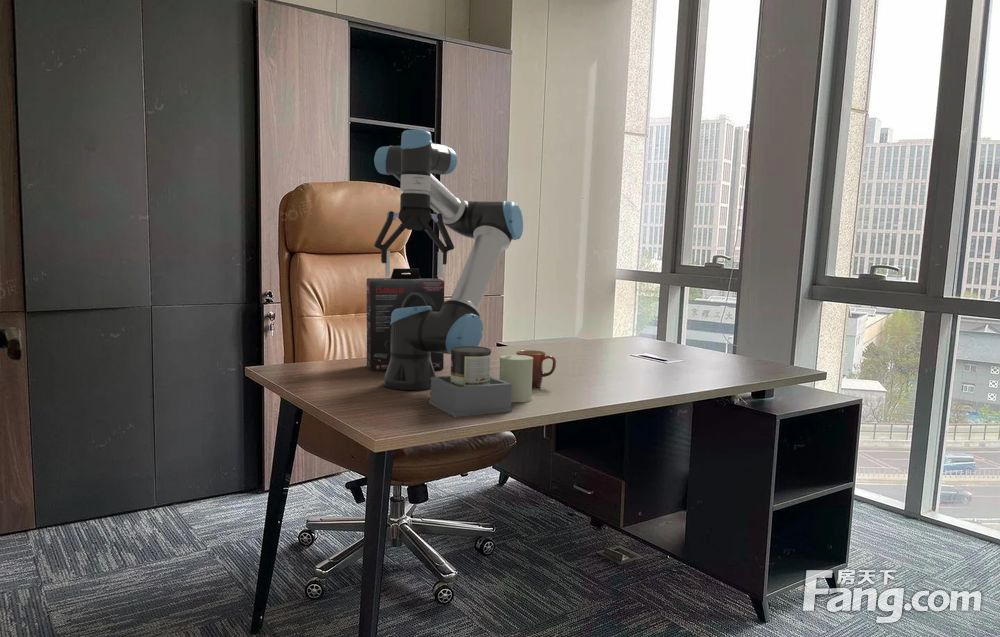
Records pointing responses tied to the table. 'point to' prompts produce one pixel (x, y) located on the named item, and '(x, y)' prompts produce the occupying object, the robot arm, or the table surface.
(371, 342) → the headset box
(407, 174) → the robot arm
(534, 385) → the mug
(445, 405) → the box
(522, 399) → the can
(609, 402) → the table surface
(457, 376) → the coffee can
